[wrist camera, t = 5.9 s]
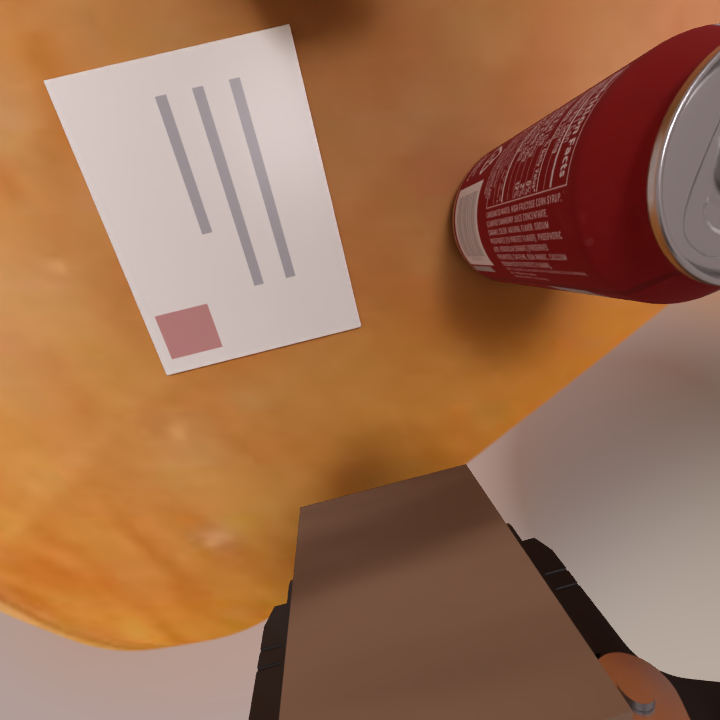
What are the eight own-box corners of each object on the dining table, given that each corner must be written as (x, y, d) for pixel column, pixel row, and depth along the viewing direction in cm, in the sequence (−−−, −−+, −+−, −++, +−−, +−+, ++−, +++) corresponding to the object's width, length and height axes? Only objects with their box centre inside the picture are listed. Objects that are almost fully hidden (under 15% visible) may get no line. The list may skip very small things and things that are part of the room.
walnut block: (300, 507, 10) (270, 812, 5) (465, 464, 11) (632, 710, 5) (342, 629, 12) (357, 977, 6) (487, 590, 12) (635, 897, 6)
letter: (48, 83, 16) (43, 80, 16) (290, 28, 16) (289, 23, 16) (169, 373, 20) (166, 375, 20) (360, 325, 20) (361, 326, 20)
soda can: (444, 281, 20) (603, 316, 9) (452, 145, 18) (670, -48, 7) (559, 280, 21) (853, 311, 9) (578, 148, 19) (980, -24, 7)
